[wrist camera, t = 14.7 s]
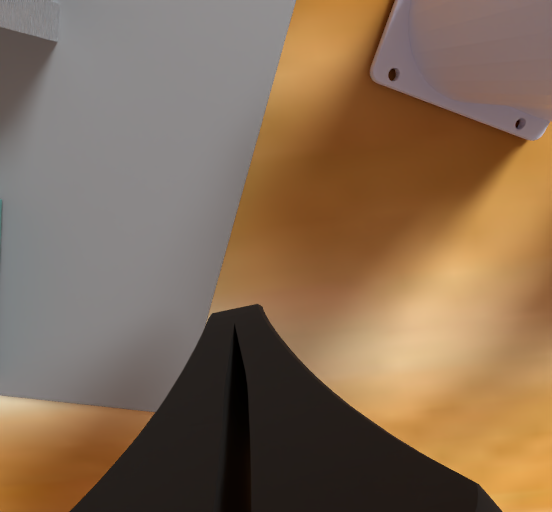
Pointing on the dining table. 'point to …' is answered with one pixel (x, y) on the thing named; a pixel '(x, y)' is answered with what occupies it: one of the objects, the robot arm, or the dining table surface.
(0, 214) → the housing
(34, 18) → the pinkish grey block
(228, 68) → the base plate
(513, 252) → the dining table surface
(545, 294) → the dining table surface
